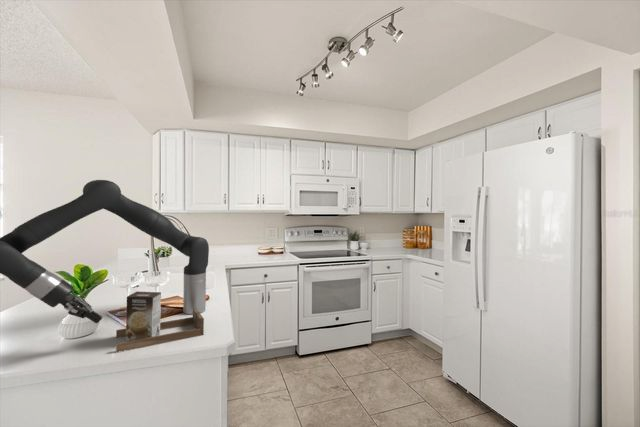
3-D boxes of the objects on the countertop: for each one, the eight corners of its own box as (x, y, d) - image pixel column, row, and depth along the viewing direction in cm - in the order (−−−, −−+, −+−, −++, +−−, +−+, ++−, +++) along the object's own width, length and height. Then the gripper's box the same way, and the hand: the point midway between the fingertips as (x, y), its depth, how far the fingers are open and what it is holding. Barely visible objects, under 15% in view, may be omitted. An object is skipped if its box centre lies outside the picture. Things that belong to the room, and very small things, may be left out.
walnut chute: (116, 336, 109) (116, 320, 108) (195, 322, 123) (195, 307, 123) (116, 352, 97) (116, 334, 97) (203, 334, 112) (203, 318, 112)
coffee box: (124, 343, 104) (125, 296, 104) (135, 335, 110) (135, 291, 110) (152, 343, 104) (152, 296, 104) (161, 335, 111) (161, 291, 110)
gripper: (57, 283, 89) (109, 317, 96) (64, 274, 100) (110, 305, 107) (33, 304, 86) (88, 337, 94) (43, 292, 97) (91, 323, 105)
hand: (99, 320), depth 100 cm, fingers closed
